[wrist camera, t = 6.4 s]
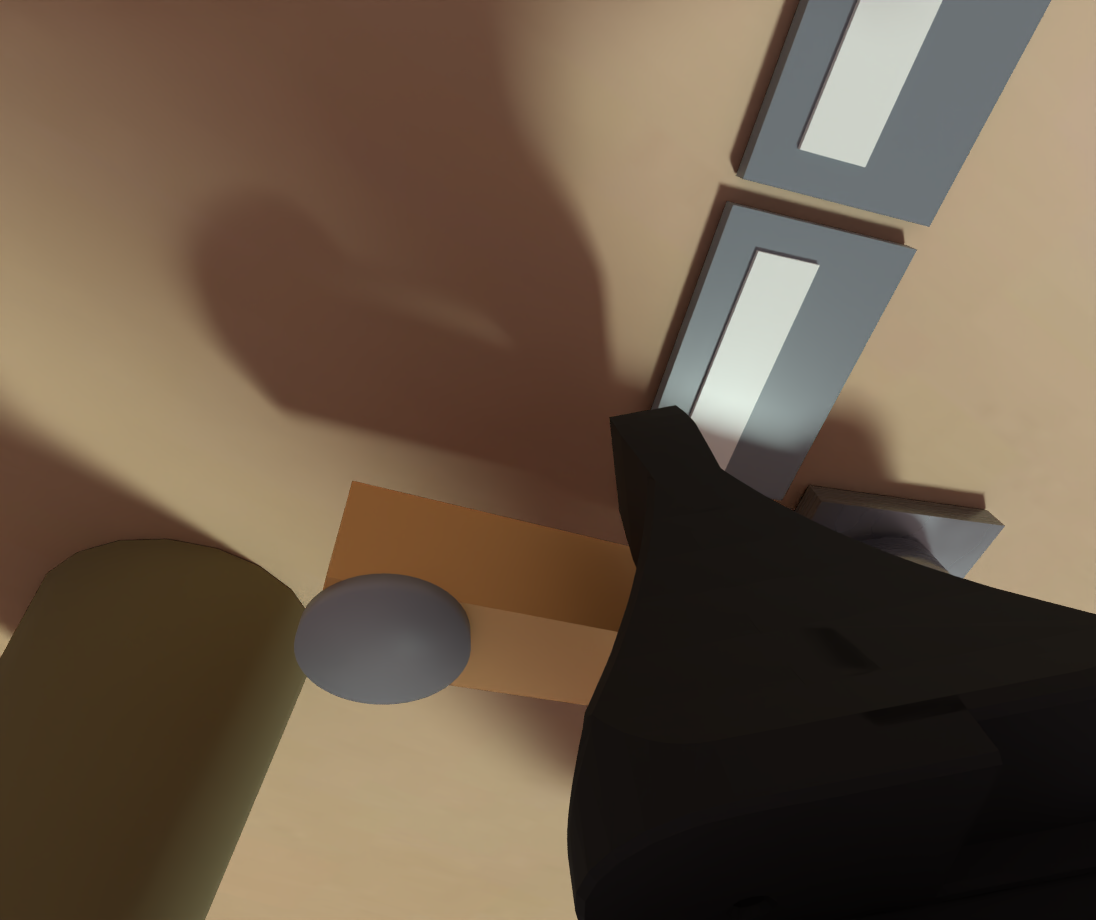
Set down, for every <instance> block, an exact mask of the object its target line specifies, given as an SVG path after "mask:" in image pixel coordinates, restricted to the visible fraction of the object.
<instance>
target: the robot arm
mask: <svg viewBox="0 0 1096 920" xmlns="http://www.w3.org/2000/svg"><path fill="white" fill-rule="evenodd" d="M609 418H610V427H611V437H612V446H613V456H614V465H615V475H616V484H617V494H618V503H619V511H620V515H621V519H622V522H623V526H624V530H625V534H626V537H627V541H628V544H629V548H630V551H631V555H632V558H633V561H634V564H635V566H636V572H635V576H634V581H633V585H632V589H631V592H630V596H629V600H628V603H627V607H626V610H625V613H624V616H623V618H622V621H621V624H620V627H619V630H618V633H617V636H616V639H615V642H614V645H613V648H612V651H611V653H610V656H609V658H608V661H607V663H606V666H605V668H604V670H603V673H602V675H601V677H600V679H599V682H598V684H597V686H596V689H595V691H594V693H593V695H592V698H591V700H590V702H589V705H588V707H587V709H586V712H585V715H584V723H583V730H582V735H581V740H580V745H579V750H578V755H577V760H576V766H575V772H574V777H573V783H572V790H571V797H570V805H569V814H568V828H567V846H568V860H569V867H570V875H571V882H572V890H573V897H574V905H575V912H576V915H577V918H578V920H1096V614H1093V613H1089V612H1085V611H1081V610H1077V609H1073V608H1069V607H1066V606H1062V605H1058V604H1054V603H1050V602H1046V601H1042V600H1039V599H1035V598H1031V597H1027V596H1023V595H1019V594H1015V593H1011V592H1008V591H1004V590H1000V589H996V588H992V587H989V586H986V585H982V584H979V583H976V582H973V581H970V580H966V579H963V578H960V577H957V576H954V575H951V574H948V573H945V572H941V571H938V570H935V569H932V568H929V567H926V566H923V565H920V564H918V563H915V562H912V561H909V560H906V559H903V558H901V557H898V556H895V555H892V554H890V553H887V552H885V551H882V550H880V549H877V548H875V547H872V546H870V545H867V544H865V543H862V542H860V541H857V540H855V539H852V538H850V537H848V536H845V535H843V534H841V533H838V532H836V531H834V530H832V529H829V528H827V527H825V526H823V525H821V524H819V523H817V522H815V521H813V520H811V519H809V518H807V517H805V516H803V515H801V514H799V513H797V512H795V511H793V510H791V509H789V508H787V507H785V506H783V505H781V504H779V503H777V502H775V501H773V500H772V499H770V498H768V497H766V496H765V495H763V494H761V493H760V492H758V491H756V490H755V489H753V488H751V487H750V486H748V485H746V484H745V483H743V482H741V481H740V480H738V479H736V478H735V477H733V476H732V475H730V474H729V473H727V472H726V471H724V470H723V469H721V468H720V466H719V464H718V462H717V460H716V459H715V457H714V455H713V453H712V451H711V450H710V448H709V446H708V444H707V442H706V441H705V439H704V437H703V435H702V434H701V432H700V430H699V428H698V427H697V425H696V423H695V422H694V421H693V420H692V419H691V418H690V417H689V416H688V415H687V414H686V413H685V412H684V411H683V410H682V409H680V408H679V407H678V406H676V405H673V406H668V407H663V408H657V409H652V410H647V411H641V412H636V413H630V414H625V415H620V416H614V417H609Z"/></svg>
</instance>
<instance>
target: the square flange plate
mask: <svg viewBox="0 0 1096 920" xmlns="http://www.w3.org/2000/svg"><path fill="white" fill-rule="evenodd" d="M795 512H797V513H799V514H801V515H803V516H805V517H807V518H809V519H811V520H813V521H815V522H817V523H819V524H821V525H823V526H825V527H827V528H829V529H832V530H834V531H836V532H838V533H841V534H843V535H845V536H848V537H850V538H852V539H855V540H857V541H860V542H862V543H865V544H867V545H870V546H872V547H875V548H877V549H880V550H882V551H885V552H887V553H890V554H892V555H895V556H898V557H901V558H903V559H906V560H909V561H912V562H915V563H918V564H920V565H923V566H926V567H929V568H932V569H935V570H938V571H941V572H945V573H948V574H951V575H954V576H957V577H960V578H964V577H965V575H966V574H967V573H968V572H969V570H970V569H971V568H972V567H973V565H974V564H975V563H976V562H977V560H978V559H979V558H980V557H981V555H982V554H983V553H984V551H985V550H986V549H987V548H988V546H989V545H990V544H991V543H992V541H993V540H994V539H995V538H996V536H997V535H998V534H999V533H1000V531H1001V530H1002V529H1003V528H1004V525H1003V524H1002V523H1001V522H1000V521H999V520H998V519H997V518H995V517H994V516H993V515H992V514H991V513H990V512H989V511H987V510H982V509H975V508H967V507H960V506H953V505H946V504H939V503H932V502H924V501H917V500H910V499H903V498H896V497H889V496H881V495H874V494H867V493H860V492H853V491H846V490H838V489H831V488H824V487H817V486H810V485H809V487H808V488H807V490H806V492H805V494H804V496H803V497H802V499H801V501H800V503H799V505H798V506H797V508H796V510H795Z"/></svg>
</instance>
